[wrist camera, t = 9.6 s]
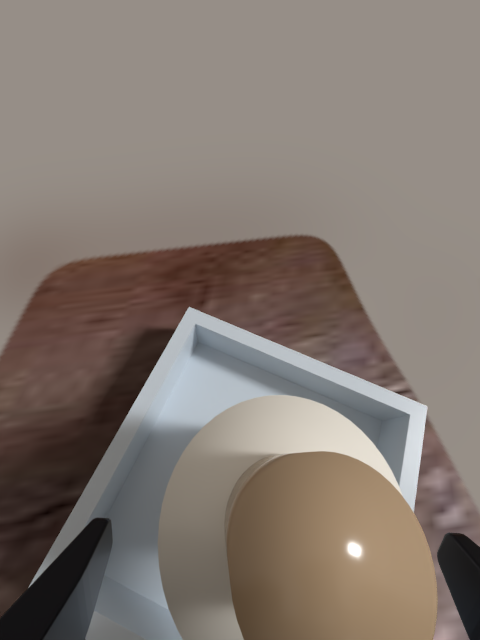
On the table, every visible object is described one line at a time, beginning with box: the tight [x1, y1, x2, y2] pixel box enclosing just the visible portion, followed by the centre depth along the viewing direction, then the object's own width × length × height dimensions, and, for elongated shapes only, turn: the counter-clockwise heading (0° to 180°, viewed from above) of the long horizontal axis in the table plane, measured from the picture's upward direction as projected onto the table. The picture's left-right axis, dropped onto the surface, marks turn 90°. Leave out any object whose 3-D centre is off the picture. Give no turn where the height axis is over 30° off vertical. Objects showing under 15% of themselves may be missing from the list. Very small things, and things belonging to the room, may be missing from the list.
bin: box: [28, 307, 427, 640], centre depth 15 cm, size 14×14×4 cm
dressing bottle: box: [158, 395, 437, 640], centre depth 10 cm, size 6×6×13 cm
